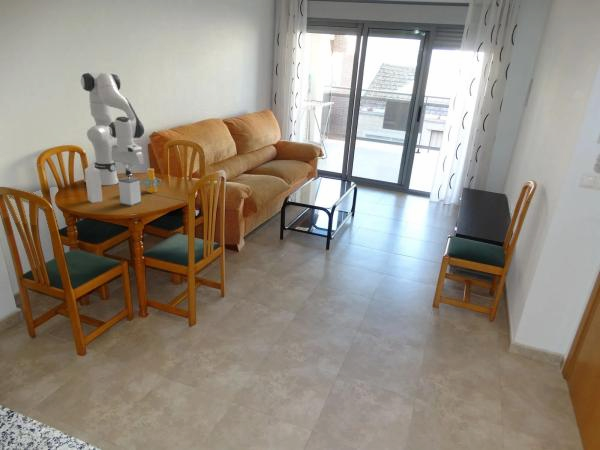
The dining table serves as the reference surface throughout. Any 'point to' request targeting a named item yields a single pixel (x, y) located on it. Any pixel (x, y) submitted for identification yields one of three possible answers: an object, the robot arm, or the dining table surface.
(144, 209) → the dining table surface
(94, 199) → the milk
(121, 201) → the white box with knob
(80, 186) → the dining table surface
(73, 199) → the dining table surface
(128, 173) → the plunger
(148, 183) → the yellow and blue toy
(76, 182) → the dining table surface
